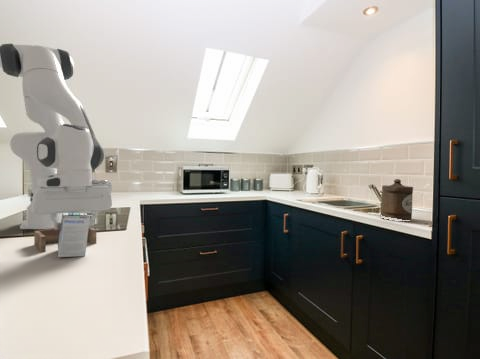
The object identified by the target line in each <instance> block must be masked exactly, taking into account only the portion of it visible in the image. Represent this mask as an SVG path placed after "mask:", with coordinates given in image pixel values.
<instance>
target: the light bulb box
mask: <svg viewBox="0 0 480 359" xmlns="http://www.w3.org/2000/svg"><path fill="white" fill-rule="evenodd" d="M90 218H91V217H89V216H88V214H87V213H86V212H84V213H83V212H82V213H81V212H80V213H79V212H70V213H62V219H61V229H60V234H59V242H57V255H58V256H57V257H58V258H69V257H86V252H87V244H88V241H87V237H88V230H89V227H90V226H89V222H90Z"/></svg>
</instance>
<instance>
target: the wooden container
mask: <svg viewBox="0 0 480 359" xmlns="http://www.w3.org/2000/svg"><path fill="white" fill-rule="evenodd" d="M401 182H402V180H401V179H399V178H396V179H394V180H393V184H391V185H382V187H381V201H380V202H381V203H380V216H381V215H382V216H385V217H391V218H397V219H402V220H411V221H412V219H413V218H412V217H413V197H414V196H413V192H414V186H410V185H409V186H407V185H403V184H402V183H401Z"/></svg>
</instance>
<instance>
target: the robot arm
mask: <svg viewBox="0 0 480 359" xmlns="http://www.w3.org/2000/svg"><path fill="white" fill-rule="evenodd" d="M0 68H1V69H2V70H3V71H2V72H3V73H5V74H6V75H8V76H12V77H15V78H19V77H20V78H22V79H21V80H22V83H21V84H22V86H21V87H22V96H23V102H24V108H25V114H26V116H27V117H28V119H29V120H30V121H32V122H34V123H36V124H37V125H39V126H40V127H42V129H43V130H44V131H23V132H17V133H15V134H13V135H12V137H11V138H10V141H9V146H10V149H11V151H12V152H13V154H14V155H15V156H17V157H18V158H20V159H21V160H22V161H23V163H24V164H25V165H26V166H27V168H28V170H29V173H30V179H31V181H30V182H31V193H30V195H29V198H30V199H29V202H30V204H29V205H28V206H27V207H26V209H24V211H22V217H23V218H24V219H23V220H22V221H21V223H20V225H19V229H20V230H46V229H55V230H58V229H61V219H62V213H79V212H80V213H81V212H82V213H83V212H90V213H91V214H92V215H91V216H90V217H89V218H90V222H89V227H93V226H95V220H96V218H97V217H98V215H99V211H105V210H106V211H107V210H110V209H111V208H112V205H113V202H112V201H113V200H112V199H113V198H112V195H111V193H112V188H113V187H112V183H111V182H110V181H108V180H106V179H93V171H94V170H96V169H97V168H99V167H100V166H101V164H102V163H103V161H104V159H105V154H104V153H105V152H104V150H103V147H102V145H101V144H100V142H99V141H98V139H97V138H96V135H95V133H94V130H93V128H92V125H91V123H90V121H89V117H88V116H87V113H86V111H85V108H84V107H83V105H82V103H81V101H80V100H79V99H78V98H77V97H75V95H74V94H73V93H72V92H71V90H70V89H69V87H68V85H67V82H66V80H69V79H71V78H72V77H73V75H74V71H75V62H74V60H73V58H72V55H71V54H70V53H69V52H68V51H66V50H64V49H61V48H60V49H59V48H57V49H56V48H53V47H47V46H43V45H29V44H14V43H2V44H1V45H0ZM62 117H64V118H65V119H67V121H68V122H69V123H70V124H69V123H65V121H64V120H63V118H62Z"/></svg>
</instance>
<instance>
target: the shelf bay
mask: <svg viewBox="0 0 480 359" xmlns="http://www.w3.org/2000/svg"><path fill="white" fill-rule="evenodd" d="M59 234H60V229H58V230H55V229H54V228H51V229H37V230H34V235H33V236H34V237H33V238H34V239H33V240H34V246H35V247H36V248H37V249H38V251H40V253H45V252H46V245H47V244H57V243H58V242H59ZM87 242H89V243H90V244H93V245H94V244H95V245H96V244H97V229H95V228H93V226H89V230H88V237H87Z"/></svg>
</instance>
